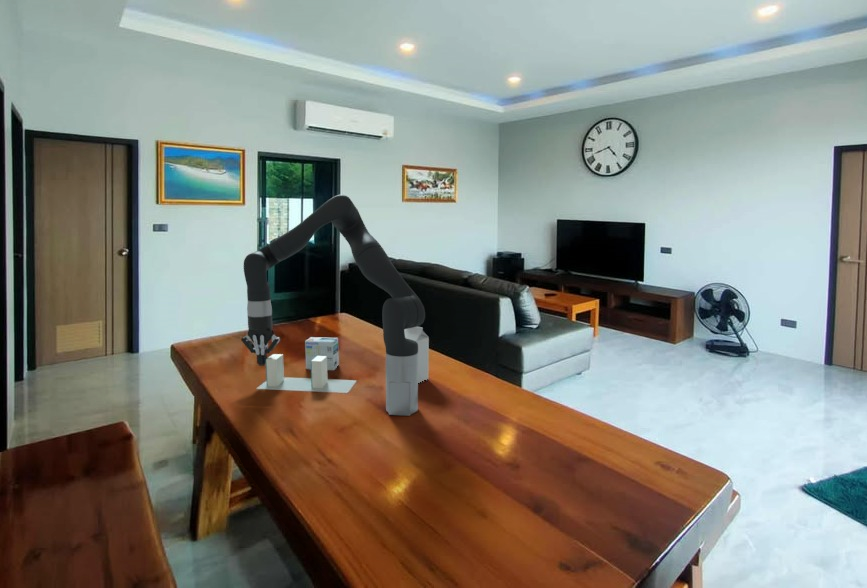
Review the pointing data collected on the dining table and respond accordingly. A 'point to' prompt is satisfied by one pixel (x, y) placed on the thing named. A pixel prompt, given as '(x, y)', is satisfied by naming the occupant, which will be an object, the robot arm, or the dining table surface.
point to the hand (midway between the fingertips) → (262, 365)
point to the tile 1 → (274, 370)
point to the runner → (305, 385)
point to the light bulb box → (322, 351)
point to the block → (319, 372)
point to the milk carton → (420, 350)
